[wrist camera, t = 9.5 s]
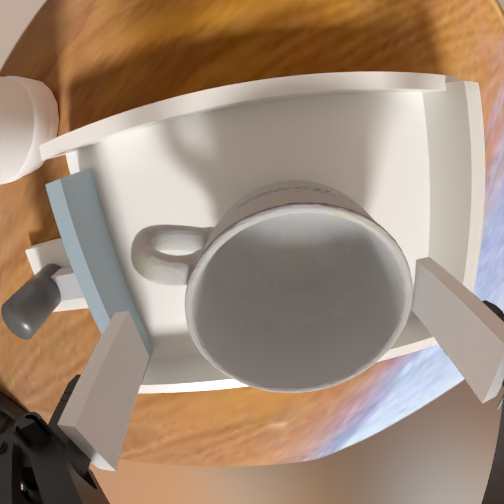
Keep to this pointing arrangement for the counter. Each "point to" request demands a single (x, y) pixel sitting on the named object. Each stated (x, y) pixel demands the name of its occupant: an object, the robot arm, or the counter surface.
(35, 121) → the bottle
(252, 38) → the counter surface
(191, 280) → the teacup
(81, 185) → the blue-grey panel and knob
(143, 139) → the tray
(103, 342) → the robot arm
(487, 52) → the counter surface
